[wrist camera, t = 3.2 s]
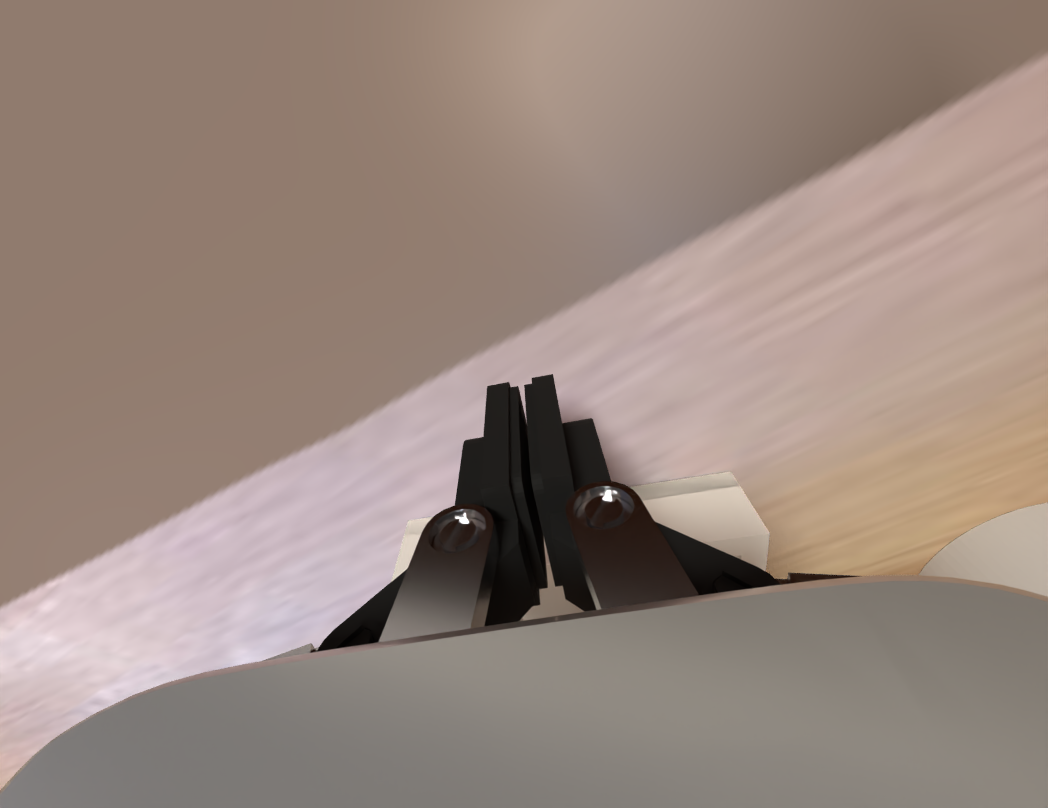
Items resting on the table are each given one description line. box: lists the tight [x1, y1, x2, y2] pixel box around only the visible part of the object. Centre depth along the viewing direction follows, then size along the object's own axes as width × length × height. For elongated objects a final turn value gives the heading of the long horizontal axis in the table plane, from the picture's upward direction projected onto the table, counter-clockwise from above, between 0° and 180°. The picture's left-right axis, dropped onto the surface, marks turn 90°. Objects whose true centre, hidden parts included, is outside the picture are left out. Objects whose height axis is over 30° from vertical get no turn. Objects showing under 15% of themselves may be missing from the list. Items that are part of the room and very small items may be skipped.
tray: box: [391, 471, 770, 621], centre depth 20 cm, size 12×16×3 cm
